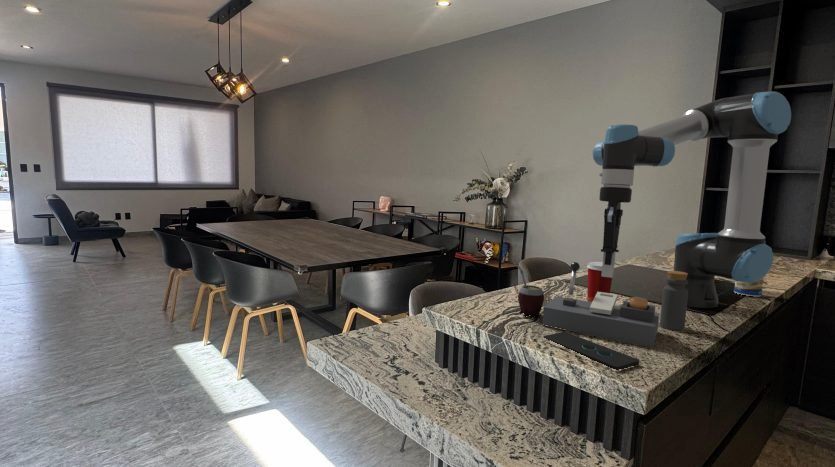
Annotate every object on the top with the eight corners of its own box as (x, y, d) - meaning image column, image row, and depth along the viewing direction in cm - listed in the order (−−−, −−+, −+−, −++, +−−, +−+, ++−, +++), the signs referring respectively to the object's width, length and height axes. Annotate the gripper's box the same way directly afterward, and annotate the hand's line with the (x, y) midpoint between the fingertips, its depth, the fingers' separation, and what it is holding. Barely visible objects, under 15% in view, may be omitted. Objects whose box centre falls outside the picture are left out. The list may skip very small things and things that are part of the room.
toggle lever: (567, 294, 125) (572, 262, 127) (576, 295, 124) (581, 263, 125) (565, 293, 123) (570, 260, 125) (574, 294, 122) (579, 261, 123)
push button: (630, 305, 117) (631, 296, 117) (647, 308, 115) (648, 298, 115) (628, 308, 114) (629, 299, 114) (646, 311, 112) (647, 302, 112)
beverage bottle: (760, 294, 167) (767, 239, 165) (763, 299, 160) (770, 242, 158) (732, 290, 172) (739, 237, 169) (733, 294, 164) (740, 239, 162)
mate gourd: (547, 315, 130) (550, 263, 128) (533, 321, 124) (536, 266, 122) (523, 309, 135) (527, 259, 133) (509, 315, 129) (512, 262, 127)
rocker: (597, 295, 124) (597, 291, 124) (617, 298, 122) (617, 294, 121) (589, 311, 116) (589, 306, 116) (610, 315, 114) (611, 309, 113)
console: (556, 313, 132) (558, 287, 131) (657, 331, 119) (660, 303, 118) (542, 325, 120) (544, 297, 120) (653, 347, 107) (656, 316, 106)
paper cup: (611, 308, 140) (615, 263, 138) (610, 315, 133) (614, 267, 131) (584, 304, 143) (587, 260, 141) (581, 310, 136) (585, 264, 134)
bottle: (687, 331, 120) (694, 275, 118) (663, 329, 121) (669, 273, 119) (679, 324, 126) (685, 271, 124) (656, 322, 127) (662, 269, 125)
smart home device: (616, 366, 92) (541, 335, 109) (615, 374, 92) (540, 342, 109) (641, 359, 96) (565, 330, 113) (640, 367, 96) (564, 337, 113)
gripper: (604, 186, 126) (596, 271, 128) (596, 185, 114) (587, 278, 117) (635, 187, 122) (625, 275, 124) (628, 186, 111) (619, 282, 113)
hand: (607, 276), depth 121 cm, fingers closed
